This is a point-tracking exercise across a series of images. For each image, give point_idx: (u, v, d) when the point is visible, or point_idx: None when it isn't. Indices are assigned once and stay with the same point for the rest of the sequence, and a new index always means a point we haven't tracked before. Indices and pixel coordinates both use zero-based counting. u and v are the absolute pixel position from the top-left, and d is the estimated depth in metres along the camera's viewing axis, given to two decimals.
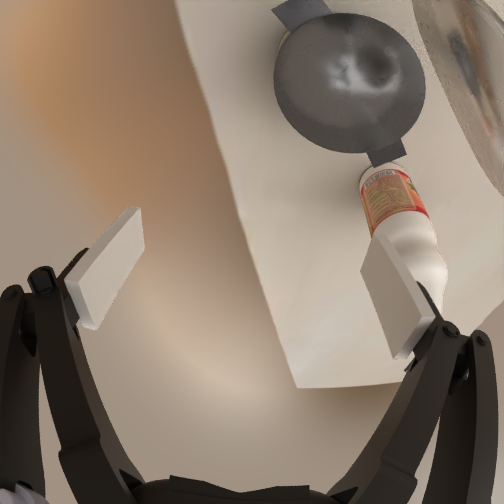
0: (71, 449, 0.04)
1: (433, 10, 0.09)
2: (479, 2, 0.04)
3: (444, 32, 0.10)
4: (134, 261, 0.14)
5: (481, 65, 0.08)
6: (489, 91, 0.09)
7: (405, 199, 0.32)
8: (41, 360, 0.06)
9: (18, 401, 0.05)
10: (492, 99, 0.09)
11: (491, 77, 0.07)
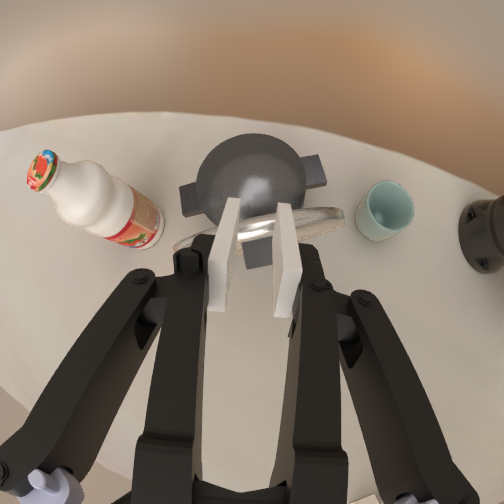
0: (155, 440, 0.05)
1: None
2: (340, 218, 0.21)
3: None
4: (235, 248, 0.16)
5: None
6: None
7: (138, 217, 0.40)
8: (160, 340, 0.07)
9: (103, 393, 0.06)
10: None
11: None
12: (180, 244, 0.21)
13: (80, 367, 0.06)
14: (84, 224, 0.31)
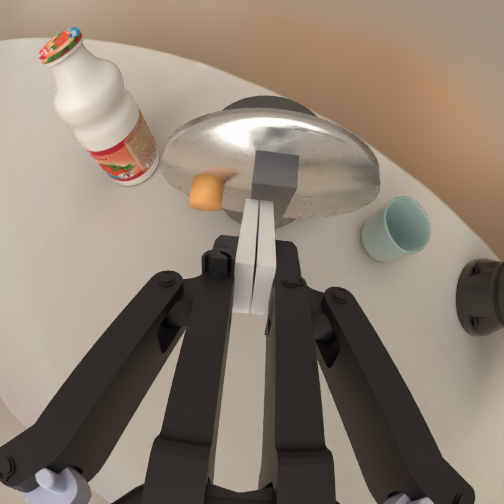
0: (172, 442, 0.05)
1: None
2: (379, 175, 0.16)
3: None
4: None
5: None
6: None
7: (134, 142, 0.32)
8: (184, 341, 0.07)
9: (121, 396, 0.06)
10: None
11: None
12: (178, 131, 0.15)
13: (100, 369, 0.06)
14: (75, 122, 0.23)
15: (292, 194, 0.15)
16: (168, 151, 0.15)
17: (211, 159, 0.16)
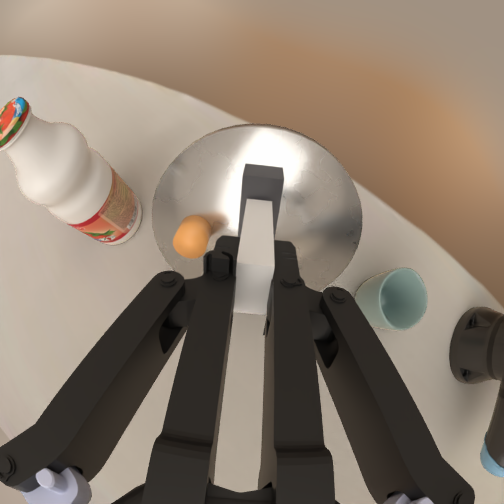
0: (173, 442, 0.05)
1: None
2: None
3: None
4: None
5: None
6: None
7: (110, 211, 0.30)
8: (186, 341, 0.07)
9: (122, 396, 0.06)
10: None
11: None
12: None
13: (101, 369, 0.06)
14: (41, 204, 0.21)
15: (280, 195, 0.16)
16: (167, 170, 0.18)
17: (204, 184, 0.18)
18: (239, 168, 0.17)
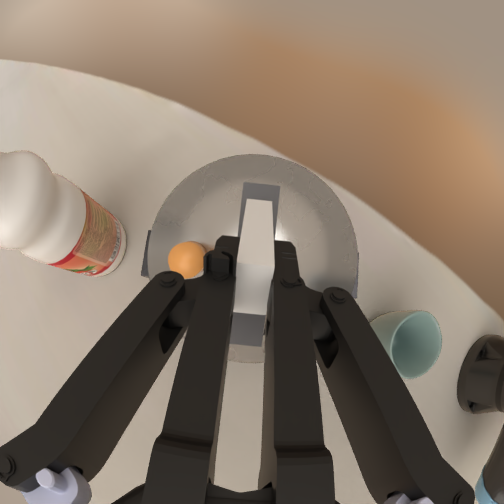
0: (173, 442, 0.05)
1: None
2: None
3: None
4: None
5: None
6: None
7: (86, 248, 0.26)
8: (186, 341, 0.07)
9: (122, 396, 0.06)
10: None
11: None
12: None
13: (101, 369, 0.06)
14: (6, 248, 0.17)
15: (277, 201, 0.18)
16: (172, 192, 0.20)
17: (205, 206, 0.20)
18: (238, 191, 0.20)
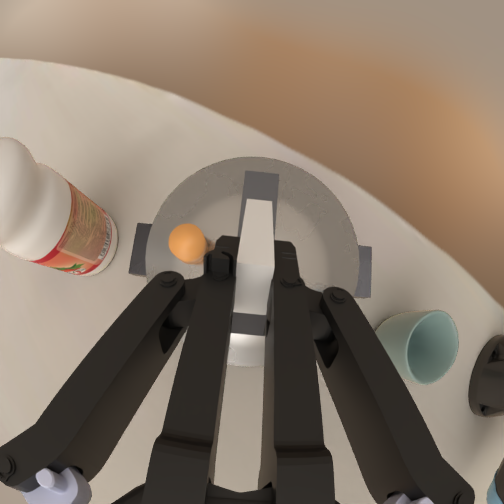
0: (173, 442, 0.05)
1: None
2: None
3: None
4: None
5: None
6: None
7: (72, 244, 0.23)
8: (186, 341, 0.07)
9: (122, 396, 0.06)
10: None
11: None
12: None
13: (101, 369, 0.06)
14: None
15: (277, 186, 0.19)
16: (176, 188, 0.21)
17: (207, 200, 0.20)
18: (240, 187, 0.21)
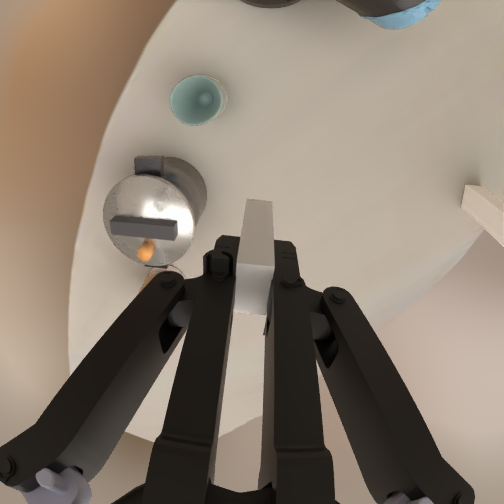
0: (173, 442, 0.05)
1: None
2: (119, 182, 0.38)
3: None
4: None
5: None
6: None
7: None
8: (186, 341, 0.07)
9: (122, 396, 0.06)
10: None
11: None
12: None
13: (101, 369, 0.06)
14: None
15: (114, 222, 0.39)
16: None
17: (127, 243, 0.43)
18: None
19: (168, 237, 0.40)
